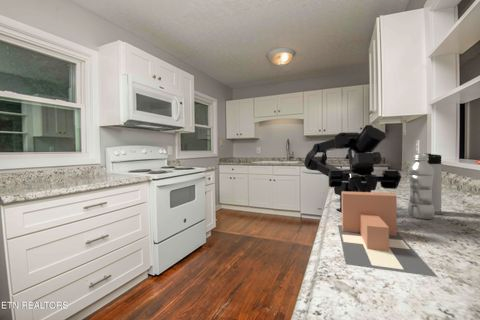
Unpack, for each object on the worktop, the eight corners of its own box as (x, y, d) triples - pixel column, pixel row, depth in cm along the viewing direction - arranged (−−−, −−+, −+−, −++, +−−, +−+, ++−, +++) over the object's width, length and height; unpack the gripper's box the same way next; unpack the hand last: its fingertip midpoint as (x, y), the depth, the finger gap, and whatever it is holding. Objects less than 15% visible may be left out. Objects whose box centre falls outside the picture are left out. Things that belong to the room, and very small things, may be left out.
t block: (341, 226, 63) (341, 191, 62) (391, 230, 58) (391, 193, 58) (346, 246, 50) (346, 201, 49) (411, 253, 45) (411, 205, 45)
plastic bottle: (412, 220, 67) (412, 154, 67) (404, 214, 74) (404, 154, 73) (438, 222, 65) (439, 154, 64) (428, 216, 72) (428, 154, 71)
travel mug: (438, 211, 77) (439, 153, 76) (443, 215, 71) (443, 153, 71) (416, 208, 80) (416, 153, 80) (418, 213, 75) (418, 154, 74)
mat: (337, 226, 64) (337, 225, 64) (395, 231, 59) (395, 229, 59) (345, 266, 42) (345, 264, 42) (438, 279, 37) (438, 276, 37)
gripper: (328, 144, 69) (330, 184, 59) (398, 142, 63) (415, 186, 53) (327, 167, 77) (329, 206, 67) (390, 167, 71) (403, 210, 61)
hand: (366, 202), depth 62 cm, fingers closed
